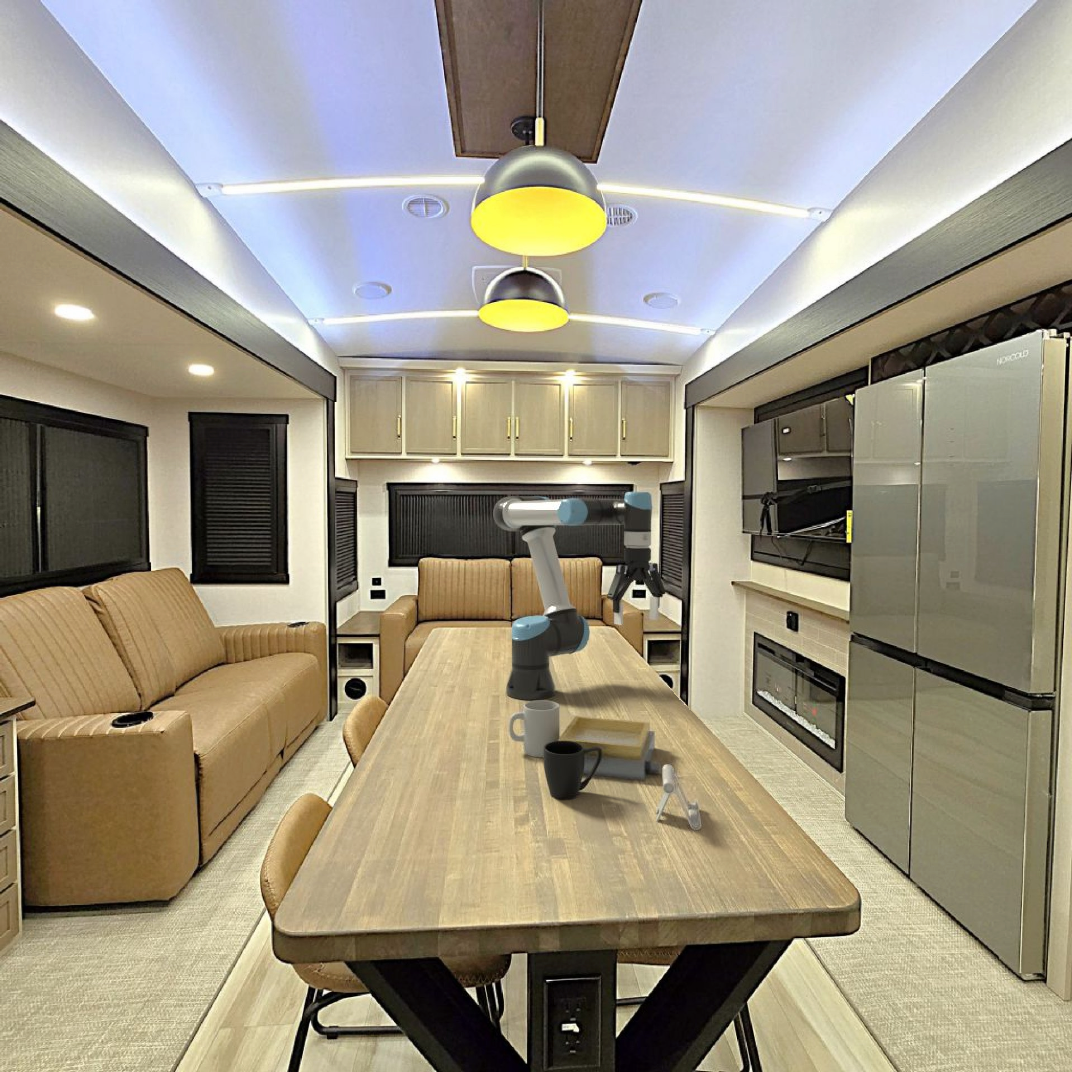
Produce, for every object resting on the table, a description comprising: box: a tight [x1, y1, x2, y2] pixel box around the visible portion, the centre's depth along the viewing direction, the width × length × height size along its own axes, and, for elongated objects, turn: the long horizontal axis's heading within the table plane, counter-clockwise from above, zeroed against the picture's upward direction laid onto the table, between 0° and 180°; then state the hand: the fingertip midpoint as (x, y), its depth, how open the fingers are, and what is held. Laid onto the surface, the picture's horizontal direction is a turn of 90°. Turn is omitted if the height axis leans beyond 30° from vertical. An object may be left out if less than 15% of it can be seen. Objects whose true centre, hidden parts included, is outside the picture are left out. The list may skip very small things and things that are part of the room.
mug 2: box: [542, 741, 602, 801], centre depth 134 cm, size 8×12×10 cm
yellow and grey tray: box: [558, 715, 661, 782], centre depth 152 cm, size 23×20×6 cm
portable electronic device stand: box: [655, 764, 702, 831], centre depth 123 cm, size 9×8×8 cm
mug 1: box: [508, 699, 561, 759], centre depth 157 cm, size 12×8×11 cm
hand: (636, 622), depth 188 cm, fingers open, 13 cm apart
